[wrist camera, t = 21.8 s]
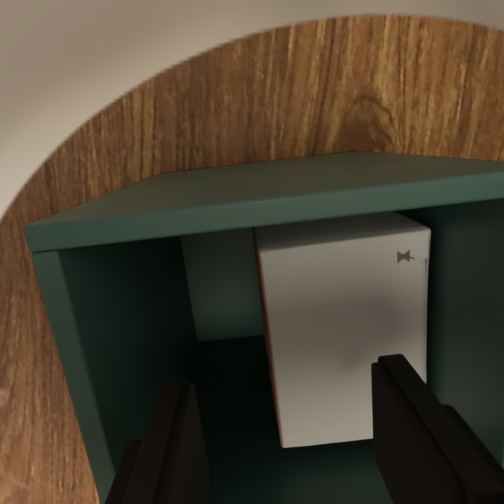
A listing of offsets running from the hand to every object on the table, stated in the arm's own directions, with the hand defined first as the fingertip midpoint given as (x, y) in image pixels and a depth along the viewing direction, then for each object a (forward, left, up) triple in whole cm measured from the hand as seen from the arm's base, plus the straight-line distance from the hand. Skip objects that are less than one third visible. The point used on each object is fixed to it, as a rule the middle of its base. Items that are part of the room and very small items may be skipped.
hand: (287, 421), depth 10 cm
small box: (+3, 0, -14) cm, 14 cm away
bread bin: (+1, 0, -15) cm, 15 cm away
